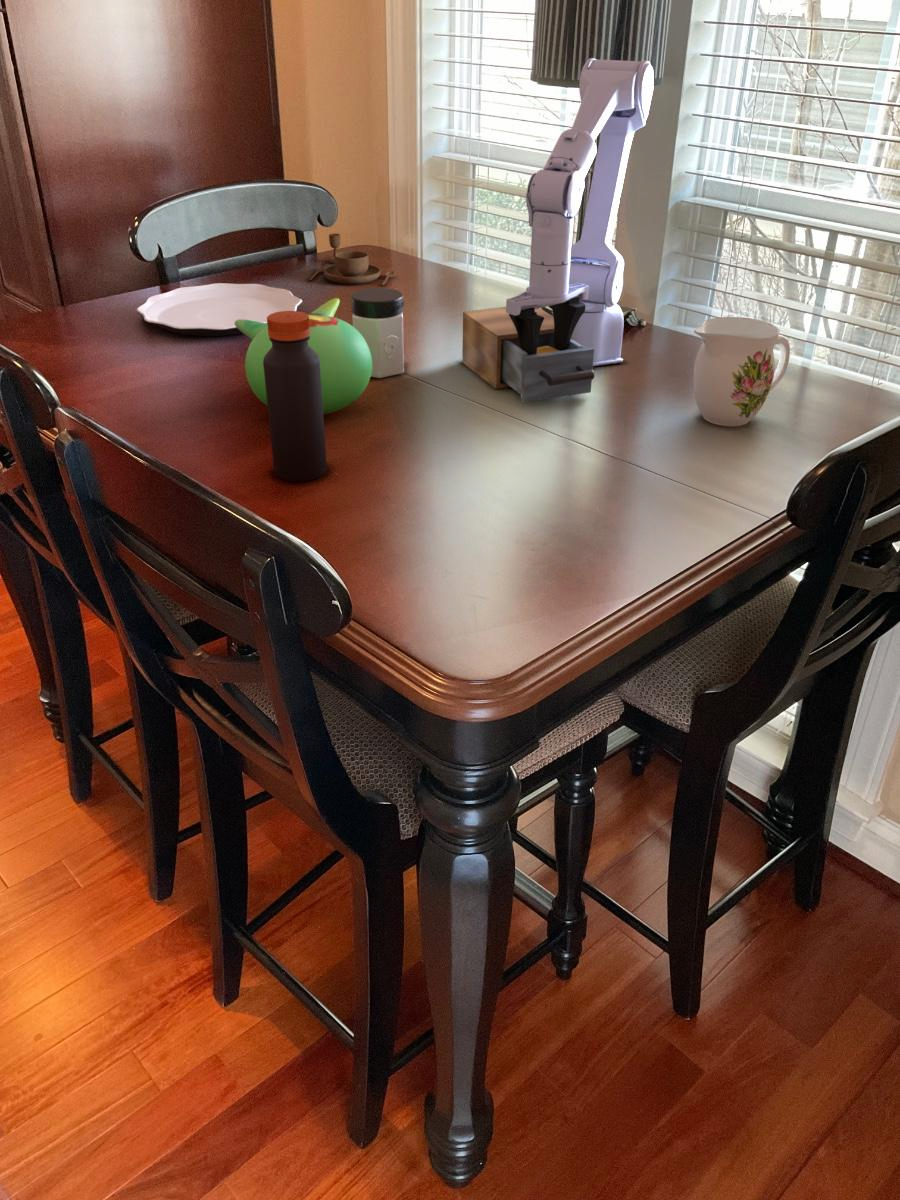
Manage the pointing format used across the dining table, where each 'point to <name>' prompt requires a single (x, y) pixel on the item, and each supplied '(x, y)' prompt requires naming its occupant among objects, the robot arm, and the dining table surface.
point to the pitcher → (736, 368)
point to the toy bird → (337, 350)
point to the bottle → (294, 399)
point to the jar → (381, 328)
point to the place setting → (350, 266)
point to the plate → (215, 307)
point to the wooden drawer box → (491, 340)
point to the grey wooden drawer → (546, 369)
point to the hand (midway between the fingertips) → (544, 354)
